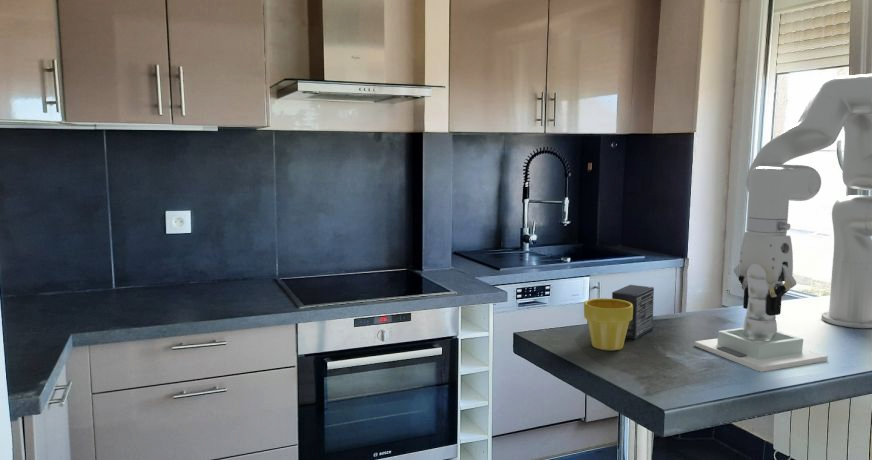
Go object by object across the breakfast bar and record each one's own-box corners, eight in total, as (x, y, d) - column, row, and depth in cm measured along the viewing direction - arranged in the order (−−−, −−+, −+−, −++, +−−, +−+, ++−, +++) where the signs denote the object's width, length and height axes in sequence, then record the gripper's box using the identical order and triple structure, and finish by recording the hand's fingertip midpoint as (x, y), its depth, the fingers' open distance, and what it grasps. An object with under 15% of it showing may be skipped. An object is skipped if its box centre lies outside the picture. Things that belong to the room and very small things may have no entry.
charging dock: (756, 337, 152) (757, 320, 151) (827, 360, 135) (828, 341, 135) (694, 345, 145) (695, 328, 145) (761, 371, 129) (762, 352, 128)
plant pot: (587, 337, 152) (588, 295, 151) (633, 342, 148) (635, 299, 147) (579, 350, 143) (580, 306, 141) (628, 355, 139) (630, 310, 137)
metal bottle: (777, 338, 141) (783, 246, 139) (775, 346, 135) (781, 250, 133) (744, 334, 144) (749, 244, 142) (740, 342, 139) (746, 248, 136)
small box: (627, 325, 162) (629, 283, 161) (653, 329, 158) (655, 287, 157) (609, 334, 154) (610, 290, 153) (636, 339, 150) (637, 295, 149)
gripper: (816, 230, 130) (810, 319, 133) (747, 221, 146) (742, 300, 148) (788, 232, 128) (782, 323, 130) (721, 222, 143) (716, 303, 146)
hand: (761, 310), depth 139 cm, fingers closed on metal bottle, 5 cm apart
